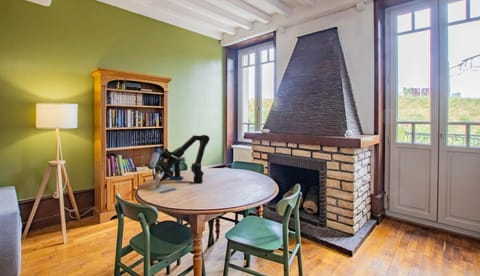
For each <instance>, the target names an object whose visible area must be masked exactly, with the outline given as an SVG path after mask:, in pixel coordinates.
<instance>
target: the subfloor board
mask: <svg viewBox="0 0 480 276" xmlns="http://www.w3.org/2000/svg"><path fill="white" fill-rule="evenodd" d="M173 188H175V189H177V190H173V191H170V192H166V193H161V194H162V195H165V194H168V193H169V194H170V193H173V192H177V191H180V190H181V188H180V189H179V188H176V187H173V186H170V185H167V184H162V185H161V188H156V186H152V187H149V188H147V189H148V190H151V191H154V192H157V193H159V192H161V191H165V190H169V189H173Z"/></svg>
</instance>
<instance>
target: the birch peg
mask: <svg viewBox="0 0 480 276" xmlns="http://www.w3.org/2000/svg"><path fill="white" fill-rule="evenodd" d="M154 174H155V179H154V181H155V187H156V188H161V184H162V183H161V182H162V181H161V182H160V179H161V175H160V172H157V173H155V172H154Z"/></svg>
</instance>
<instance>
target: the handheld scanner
mask: <svg viewBox="0 0 480 276" xmlns="http://www.w3.org/2000/svg"><path fill="white" fill-rule="evenodd" d="M174 157H175V156H174ZM175 158H176V159H178V160H179V162H175V163H174V165H173V170H174V171H173V172H174V175H173V176H171V177H169V178H168V179H170V180H171V181H182V180H183V179H184V176H181V167H180V165H181V163H182V164H184V163H186V157H185V156H183V157H180V158H177V157H175ZM167 160H168V159H166V161H167ZM170 170H171V171H172V168H171V169H170Z"/></svg>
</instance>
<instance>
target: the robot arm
mask: <svg viewBox="0 0 480 276" xmlns="http://www.w3.org/2000/svg"><path fill="white" fill-rule="evenodd" d="M197 141H199V142H198V143H199V147H198V150H197V154H196V157H195V162H193V163H192V164H191V166H190V169H191V170H190V171H191V173H193V184H202V183H203V182H204V180H203V179H204V177H203V176H204V175H205V172H204V171H202V160H203V157H204V154H205V151H206V146H207V145H208V144H209V142H210V136H209V135H207V134H202V135H196V134H195V135H192V136H191V137H190V138H188V140H187V141H186V142H184V143H183V144H182V145H181V146H180V147H177V148H176V149H174V150H173V151H169V149H168V148H166V147H165V148H163V149H162V150H161V151H160V152H159V156H160V157H161V158H162V159H164V160H163V161H159V160H157V161H156V163H155V166H154V174H153V178H152V179H153V180H155V173H157V172H160V176H161V175H162V176H161V177H160V182H163V181H165V180H167V179H169V177H171V176H175V171H173V170H172V169H174V163H175V162H179V160H178V159H176V158H175V157H177V158H180V157H182V156H184V154H185V152H186V151H187V150H188V149H189V148H190V147H191V146H192V145H193V144H195V142H197ZM167 159H168V160H167ZM165 160H166V161H165ZM170 169H171V170H170Z"/></svg>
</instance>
